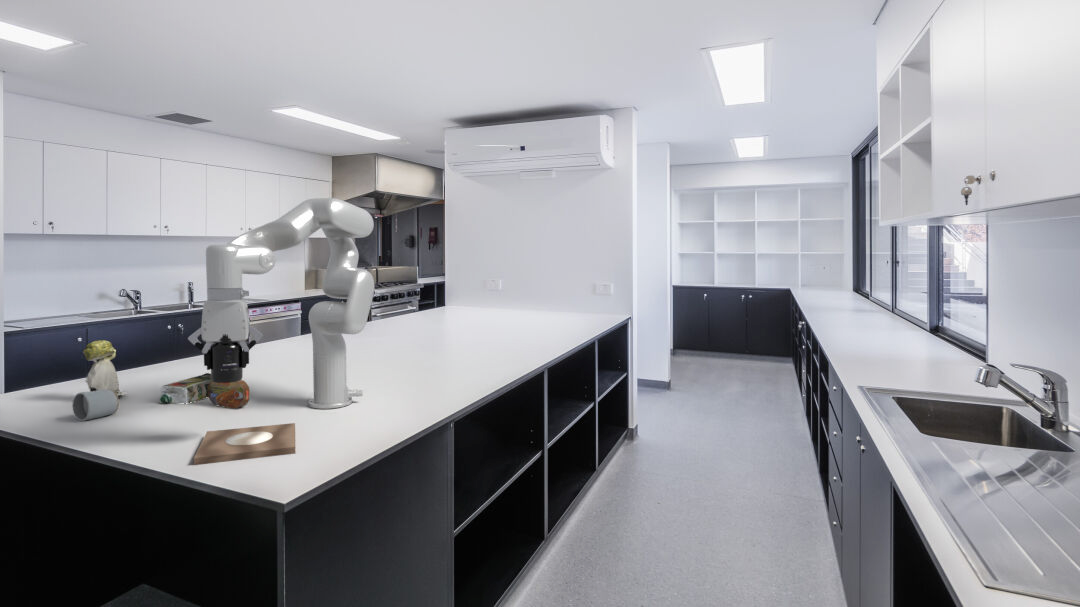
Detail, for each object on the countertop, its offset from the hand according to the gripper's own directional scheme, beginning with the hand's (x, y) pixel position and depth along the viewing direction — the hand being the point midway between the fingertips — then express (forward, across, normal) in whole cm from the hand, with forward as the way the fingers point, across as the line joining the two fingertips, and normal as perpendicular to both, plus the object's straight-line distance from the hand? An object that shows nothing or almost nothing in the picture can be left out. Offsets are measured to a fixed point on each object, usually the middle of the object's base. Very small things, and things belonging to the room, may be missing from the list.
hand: (227, 367), depth 137 cm
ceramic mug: (+18, +37, -32) cm, 52 cm away
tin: (+18, +4, -33) cm, 38 cm away
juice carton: (+18, +16, -49) cm, 55 cm away
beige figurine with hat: (+18, +42, -54) cm, 70 cm away
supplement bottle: (+4, 0, 0) cm, 4 cm away
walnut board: (+18, -5, +8) cm, 20 cm away
